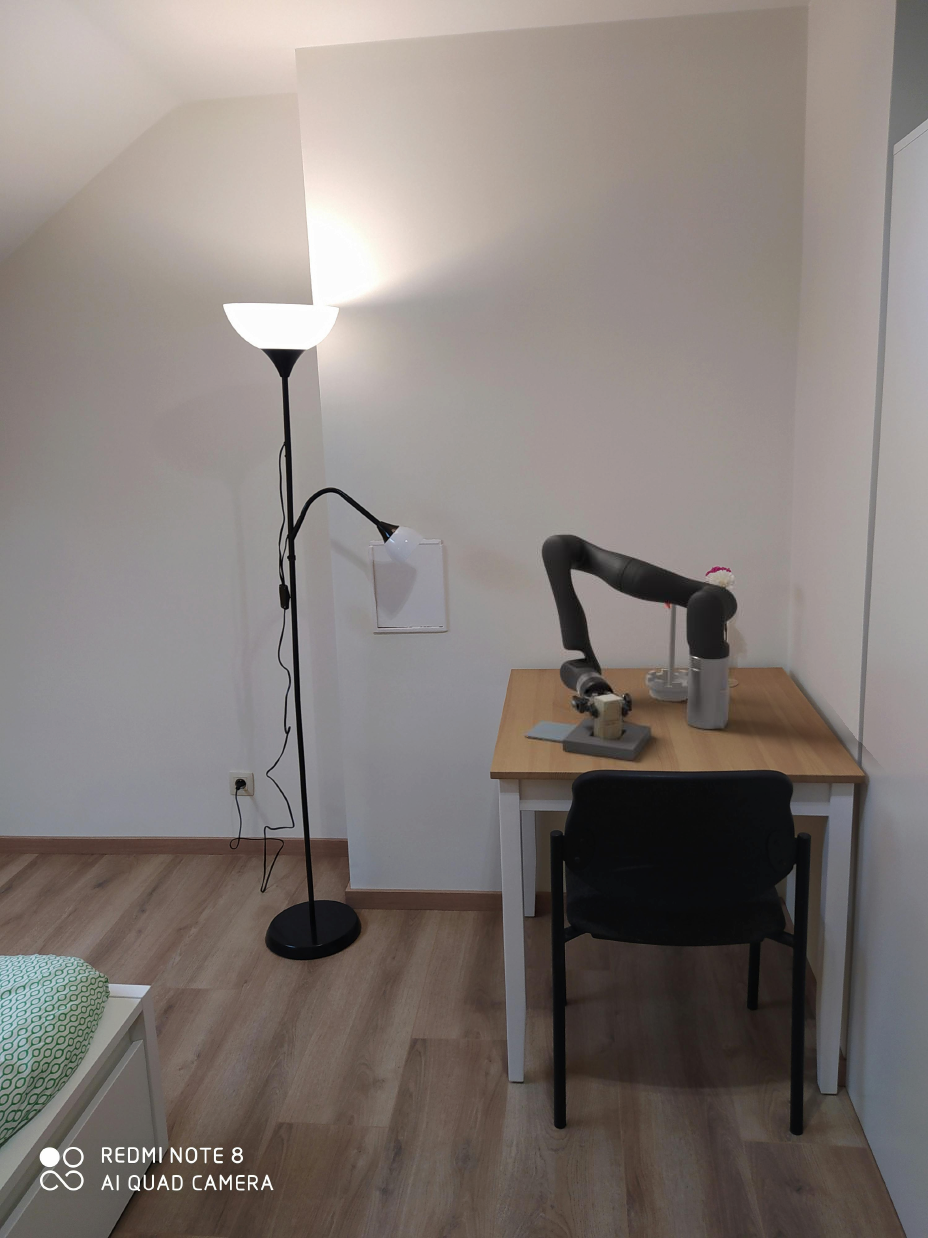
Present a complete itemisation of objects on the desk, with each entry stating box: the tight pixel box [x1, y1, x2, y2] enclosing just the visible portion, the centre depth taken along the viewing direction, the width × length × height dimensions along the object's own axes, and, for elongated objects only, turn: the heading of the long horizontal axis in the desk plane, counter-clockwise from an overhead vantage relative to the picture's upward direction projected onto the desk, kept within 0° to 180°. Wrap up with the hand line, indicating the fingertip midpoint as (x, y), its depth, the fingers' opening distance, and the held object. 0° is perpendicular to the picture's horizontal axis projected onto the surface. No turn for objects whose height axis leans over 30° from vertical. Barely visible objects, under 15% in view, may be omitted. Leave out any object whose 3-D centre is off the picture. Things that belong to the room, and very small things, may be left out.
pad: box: [524, 720, 578, 744], centre depth 216 cm, size 10×11×1 cm
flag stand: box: [645, 603, 689, 702], centre depth 239 cm, size 13×13×30 cm
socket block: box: [562, 717, 652, 761], centre depth 208 cm, size 16×16×2 cm
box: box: [593, 693, 623, 740], centre depth 207 cm, size 5×4×11 cm
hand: (610, 713), depth 204 cm, fingers closed on box, 6 cm apart
